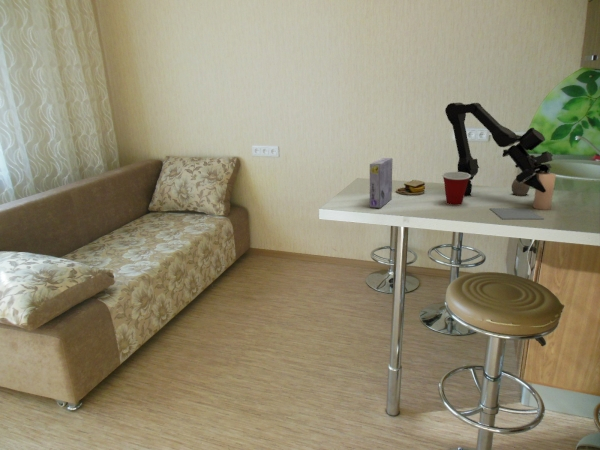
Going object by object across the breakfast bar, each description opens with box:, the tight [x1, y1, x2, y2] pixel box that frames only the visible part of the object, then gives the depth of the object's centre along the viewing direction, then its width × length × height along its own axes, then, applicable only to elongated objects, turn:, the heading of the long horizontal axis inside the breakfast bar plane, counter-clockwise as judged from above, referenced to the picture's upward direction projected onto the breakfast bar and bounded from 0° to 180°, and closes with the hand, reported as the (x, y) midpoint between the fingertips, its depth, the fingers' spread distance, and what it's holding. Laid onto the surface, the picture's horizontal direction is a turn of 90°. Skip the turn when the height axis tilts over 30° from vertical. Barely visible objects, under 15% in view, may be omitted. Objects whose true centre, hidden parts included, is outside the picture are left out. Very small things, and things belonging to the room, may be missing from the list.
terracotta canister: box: [532, 172, 557, 211], centre depth 167 cm, size 6×6×13 cm
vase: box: [511, 178, 531, 197], centre depth 188 cm, size 7×7×9 cm
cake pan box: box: [369, 157, 393, 209], centre depth 179 cm, size 19×5×18 cm, turn 154°
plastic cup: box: [441, 171, 471, 206], centre depth 176 cm, size 11×11×12 cm
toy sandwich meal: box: [395, 179, 426, 196], centre depth 198 cm, size 12×14×5 cm
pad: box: [489, 207, 545, 221], centre depth 161 cm, size 14×14×1 cm
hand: (548, 190), depth 166 cm, fingers closed on terracotta canister, 6 cm apart
